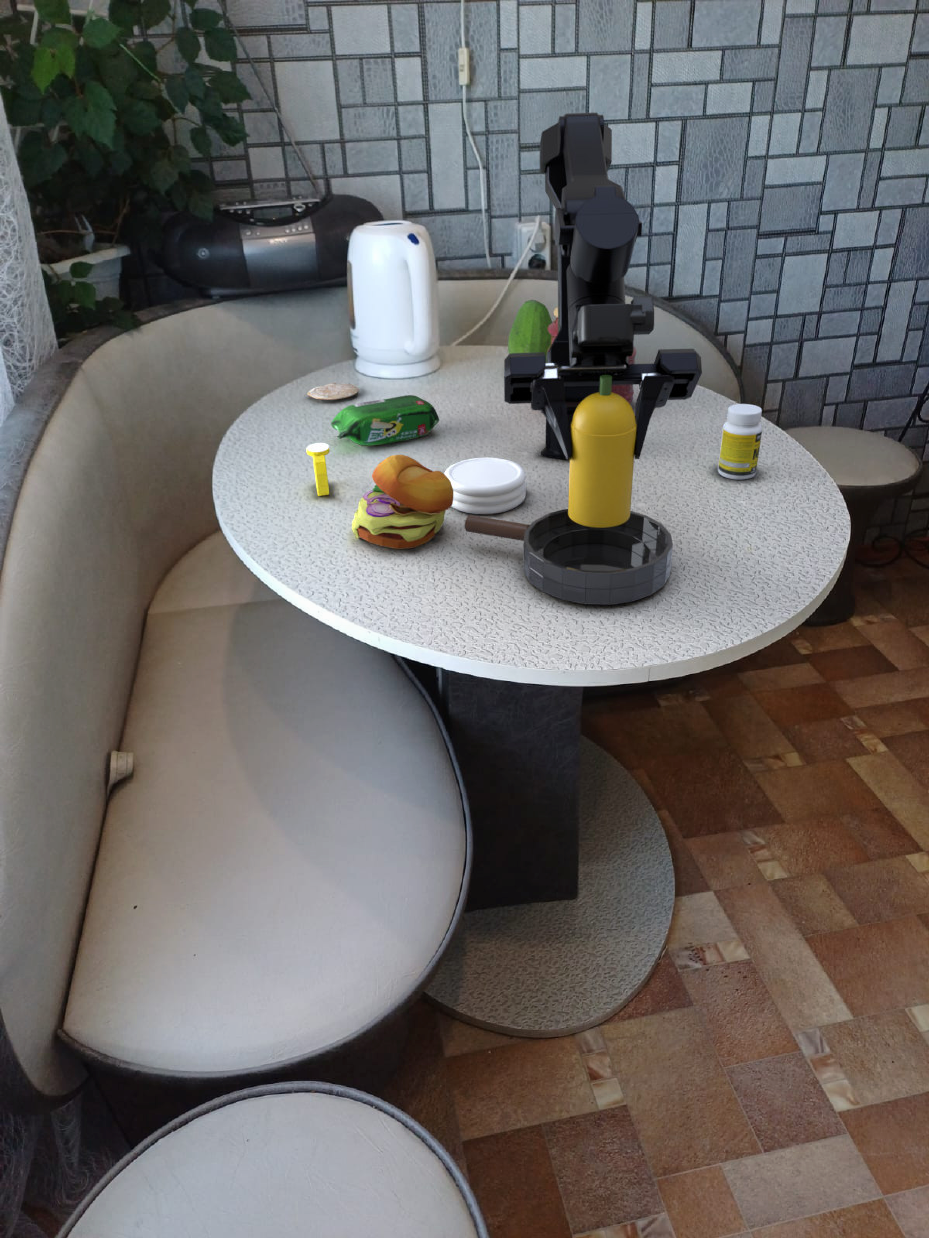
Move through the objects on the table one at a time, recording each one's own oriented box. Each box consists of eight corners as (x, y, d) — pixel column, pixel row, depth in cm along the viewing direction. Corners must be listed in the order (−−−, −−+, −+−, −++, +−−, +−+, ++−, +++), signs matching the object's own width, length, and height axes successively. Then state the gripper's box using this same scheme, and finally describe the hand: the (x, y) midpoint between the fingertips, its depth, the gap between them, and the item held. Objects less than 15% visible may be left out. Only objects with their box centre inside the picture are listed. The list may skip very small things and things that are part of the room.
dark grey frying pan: (502, 592, 94) (501, 557, 92) (551, 530, 106) (552, 498, 104) (648, 620, 89) (651, 584, 87) (683, 552, 101) (686, 518, 99)
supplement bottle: (756, 481, 116) (766, 416, 111) (717, 479, 117) (725, 414, 112) (754, 466, 120) (763, 403, 115) (716, 465, 121) (724, 401, 116)
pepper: (555, 514, 94) (558, 376, 87) (596, 495, 98) (603, 362, 90) (601, 533, 90) (608, 391, 83) (642, 514, 94) (653, 376, 86)
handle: (464, 534, 101) (464, 519, 100) (471, 527, 102) (470, 512, 101) (525, 544, 98) (525, 529, 97) (531, 537, 100) (531, 521, 99)
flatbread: (350, 384, 153) (349, 378, 153) (365, 397, 148) (364, 391, 147) (302, 392, 151) (301, 386, 150) (315, 406, 145) (314, 399, 144)
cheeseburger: (350, 516, 110) (364, 437, 106) (438, 530, 112) (456, 453, 107) (348, 555, 102) (363, 470, 97) (444, 569, 104) (463, 487, 99)
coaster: (514, 520, 109) (514, 492, 107) (433, 511, 111) (431, 484, 109) (534, 486, 117) (534, 459, 115) (458, 478, 119) (457, 453, 118)
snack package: (326, 440, 132) (321, 405, 130) (427, 421, 138) (425, 386, 135) (342, 457, 127) (338, 421, 124) (447, 436, 132) (445, 401, 130)
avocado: (542, 383, 151) (543, 307, 145) (500, 377, 155) (499, 302, 149) (563, 369, 157) (565, 296, 151) (522, 364, 161) (522, 292, 154)
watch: (310, 483, 120) (304, 439, 116) (332, 481, 120) (327, 436, 117) (313, 502, 115) (307, 456, 111) (335, 499, 115) (330, 454, 112)
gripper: (503, 266, 85) (506, 424, 82) (709, 260, 85) (721, 419, 81) (502, 330, 96) (505, 472, 93) (685, 325, 96) (694, 468, 92)
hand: (603, 458), depth 89 cm, fingers closed on pepper, 6 cm apart
